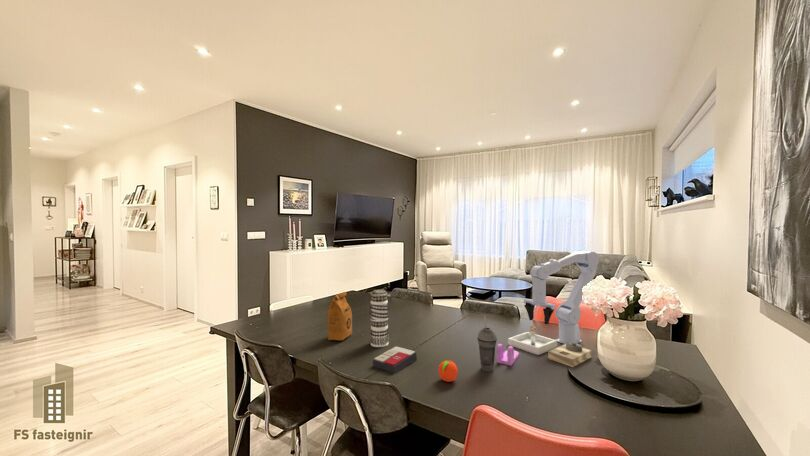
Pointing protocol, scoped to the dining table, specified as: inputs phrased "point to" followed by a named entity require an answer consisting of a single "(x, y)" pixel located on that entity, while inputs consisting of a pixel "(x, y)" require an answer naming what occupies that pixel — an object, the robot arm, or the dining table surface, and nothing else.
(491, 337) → the beverage cup
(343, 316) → the coffee package
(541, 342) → the tray
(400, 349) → the flat product box
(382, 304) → the grey striped cylinder
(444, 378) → the clementine
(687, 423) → the dining table surface
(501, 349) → the bracket
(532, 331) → the pin
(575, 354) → the block
